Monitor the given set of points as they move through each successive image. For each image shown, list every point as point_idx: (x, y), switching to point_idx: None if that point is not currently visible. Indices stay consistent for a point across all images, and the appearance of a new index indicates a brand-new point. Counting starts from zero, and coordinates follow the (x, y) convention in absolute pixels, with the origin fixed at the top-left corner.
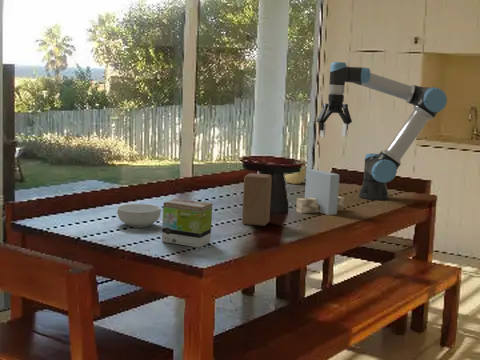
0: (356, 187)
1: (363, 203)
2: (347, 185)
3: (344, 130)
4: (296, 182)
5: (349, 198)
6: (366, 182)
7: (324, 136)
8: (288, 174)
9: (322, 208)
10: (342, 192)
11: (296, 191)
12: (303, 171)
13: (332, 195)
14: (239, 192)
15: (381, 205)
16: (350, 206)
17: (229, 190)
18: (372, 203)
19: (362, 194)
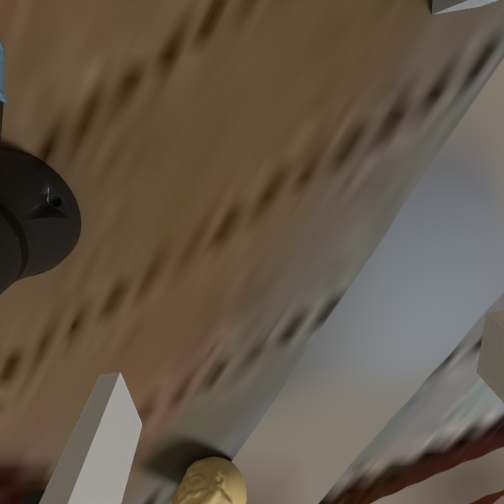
0: (11, 409)
1: (127, 77)
2: (33, 440)
3: (96, 484)
4: (216, 458)
5: (140, 206)
6: (25, 226)
7: (500, 319)
8: (241, 490)
9: None
10: (111, 327)
11: (283, 351)
12: (186, 500)
13: None
14: None
15: (50, 5)
16: (234, 3)
17: None
18: (78, 70)
19: (71, 208)
